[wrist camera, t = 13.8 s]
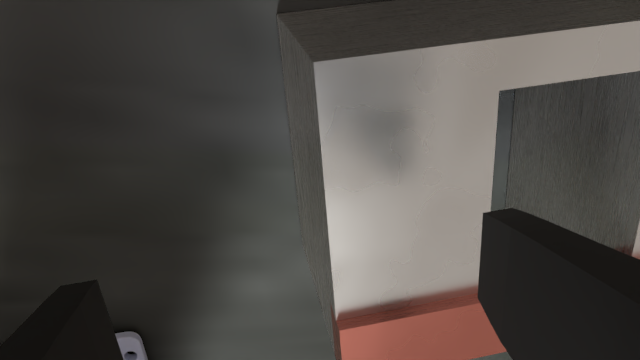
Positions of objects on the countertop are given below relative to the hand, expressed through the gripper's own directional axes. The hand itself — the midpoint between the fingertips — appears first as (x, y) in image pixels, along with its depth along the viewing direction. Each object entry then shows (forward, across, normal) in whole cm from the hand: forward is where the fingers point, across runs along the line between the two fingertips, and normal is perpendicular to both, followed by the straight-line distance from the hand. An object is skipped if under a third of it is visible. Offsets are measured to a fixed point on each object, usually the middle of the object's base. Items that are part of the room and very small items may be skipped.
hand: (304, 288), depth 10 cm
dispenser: (+10, -8, +1) cm, 12 cm away
